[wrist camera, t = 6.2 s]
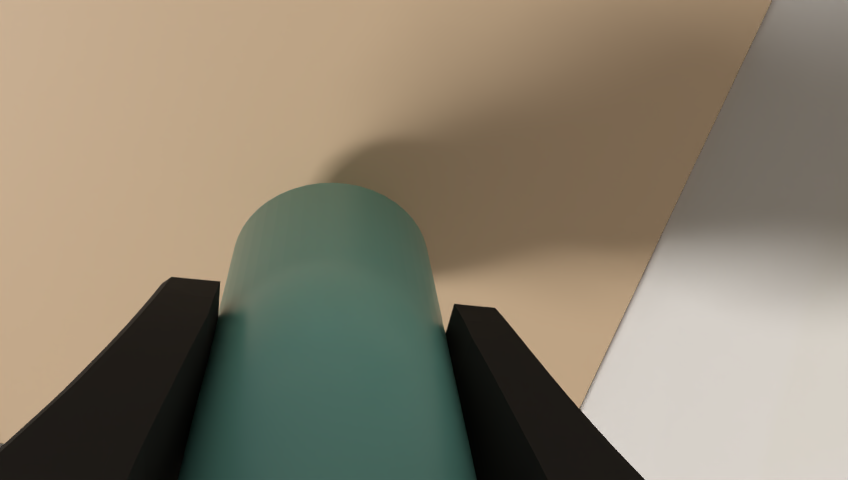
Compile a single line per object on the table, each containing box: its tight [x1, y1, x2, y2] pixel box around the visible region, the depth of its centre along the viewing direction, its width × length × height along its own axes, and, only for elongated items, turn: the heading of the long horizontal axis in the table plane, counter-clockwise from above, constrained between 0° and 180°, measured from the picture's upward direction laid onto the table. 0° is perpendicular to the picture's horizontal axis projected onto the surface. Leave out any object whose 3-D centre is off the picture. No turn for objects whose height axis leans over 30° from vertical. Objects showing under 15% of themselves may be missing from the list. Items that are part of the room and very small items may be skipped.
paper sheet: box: [0, 0, 772, 443], centre depth 12 cm, size 13×13×1 cm
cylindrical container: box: [178, 183, 477, 480], centre depth 8 cm, size 3×3×7 cm
